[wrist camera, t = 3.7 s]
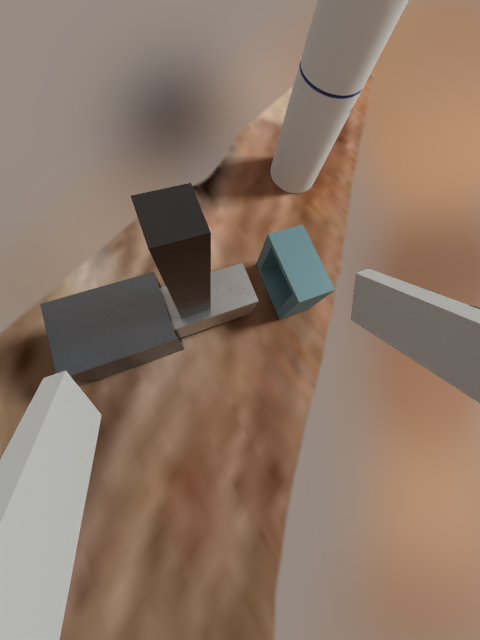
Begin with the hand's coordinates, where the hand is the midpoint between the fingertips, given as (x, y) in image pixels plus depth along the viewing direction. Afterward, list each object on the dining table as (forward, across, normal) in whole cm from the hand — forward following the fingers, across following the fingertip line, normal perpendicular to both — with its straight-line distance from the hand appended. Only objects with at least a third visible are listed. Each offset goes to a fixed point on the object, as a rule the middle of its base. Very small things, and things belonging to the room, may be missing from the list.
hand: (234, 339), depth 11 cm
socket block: (+18, +11, -8) cm, 22 cm away
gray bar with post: (+17, -3, -7) cm, 18 cm away
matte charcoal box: (+18, -8, -8) cm, 21 cm away
